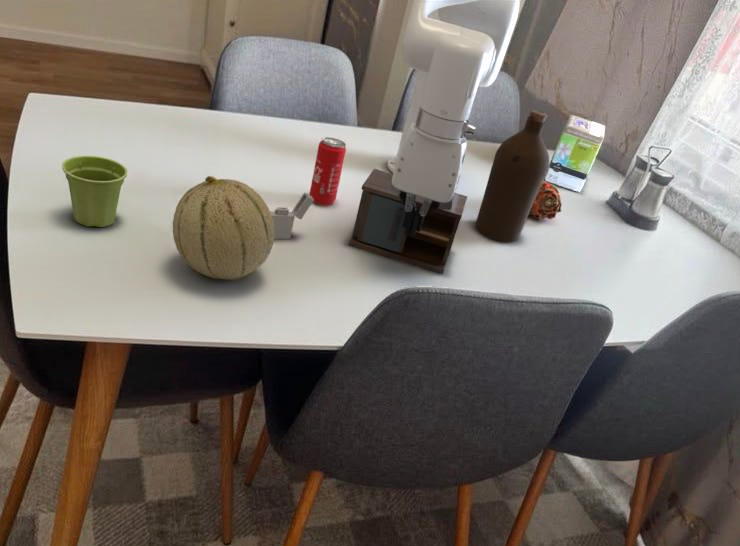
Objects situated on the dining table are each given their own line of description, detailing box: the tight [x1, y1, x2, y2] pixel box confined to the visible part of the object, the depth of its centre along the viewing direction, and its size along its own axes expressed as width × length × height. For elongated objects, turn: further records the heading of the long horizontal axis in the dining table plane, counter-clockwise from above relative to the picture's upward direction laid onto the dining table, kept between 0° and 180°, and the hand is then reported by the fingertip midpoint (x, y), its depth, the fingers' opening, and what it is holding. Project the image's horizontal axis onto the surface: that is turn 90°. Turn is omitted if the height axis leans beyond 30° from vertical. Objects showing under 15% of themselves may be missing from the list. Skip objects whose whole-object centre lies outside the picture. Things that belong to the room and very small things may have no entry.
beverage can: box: [309, 136, 347, 207], centre depth 136 cm, size 5×5×12 cm
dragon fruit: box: [528, 179, 563, 221], centre depth 158 cm, size 8×8×12 cm
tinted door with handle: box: [358, 192, 407, 253], centre depth 122 cm, size 4×8×9 cm, turn 77°
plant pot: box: [61, 155, 128, 228], centre depth 111 cm, size 9×9×9 cm
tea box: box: [544, 114, 606, 193], centre depth 183 cm, size 15×10×15 cm
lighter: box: [269, 192, 314, 240], centre depth 121 cm, size 7×2×8 cm, turn 115°
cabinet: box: [348, 168, 468, 275], centre depth 127 cm, size 10×18×11 cm, turn 77°
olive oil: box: [474, 109, 550, 243], centre depth 140 cm, size 11×11×25 cm
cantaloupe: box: [172, 175, 275, 281], centre depth 104 cm, size 15×15×15 cm
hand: (410, 232), depth 117 cm, fingers closed
